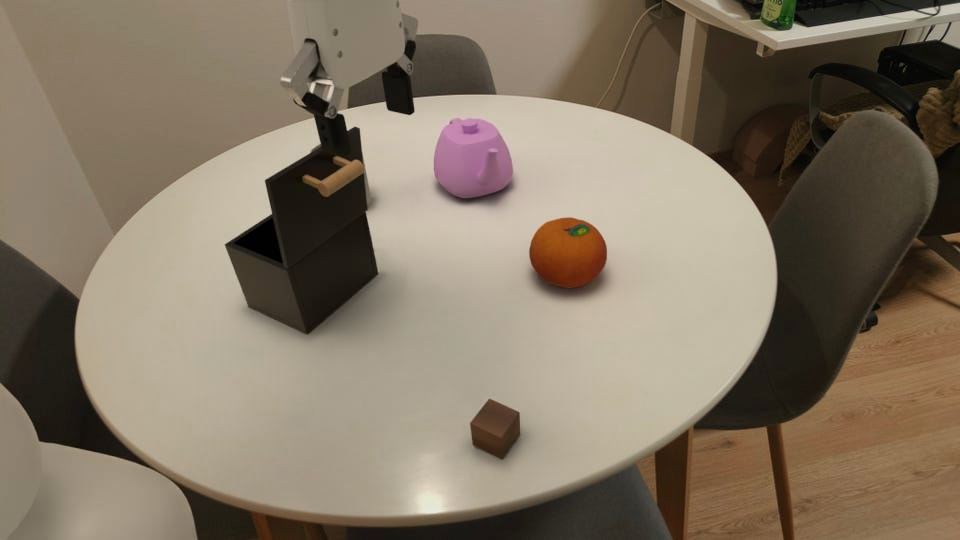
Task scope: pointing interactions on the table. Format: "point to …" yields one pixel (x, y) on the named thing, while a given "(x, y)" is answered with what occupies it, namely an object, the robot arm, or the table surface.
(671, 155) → the table surface
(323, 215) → the box lid
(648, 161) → the table surface
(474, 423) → the block
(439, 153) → the teapot
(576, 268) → the fruit
